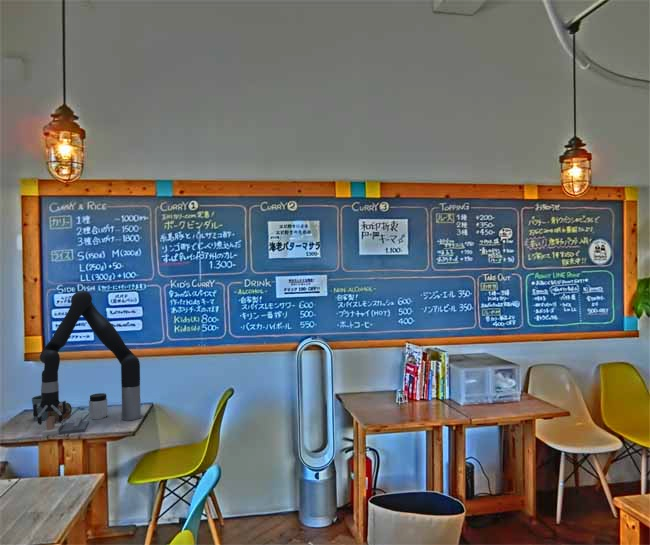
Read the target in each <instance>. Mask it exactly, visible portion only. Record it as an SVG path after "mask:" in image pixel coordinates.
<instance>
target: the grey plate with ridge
mask: <svg viewBox="0 0 650 545" xmlns="http://www.w3.org/2000/svg"><path fill="white" fill-rule="evenodd" d="M89 422H90V421H89V420H83V417H82V416H81V417H77V418H76V420H75V422H73V421H72V422H65V423H63V427H62V428H61V430H60V431H59V434H58V435H65V434H66V435H67V434H68V435H69V434H75V433H77V434H78V433H85V432H86V429H87V427H88V426H89Z"/></svg>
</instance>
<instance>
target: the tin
mask: <svg viewBox="0 0 650 545" xmlns="http://www.w3.org/2000/svg"><path fill="white" fill-rule="evenodd" d="M58 407H59V408H60V410H61V411H63V406H61V404H59V406H58ZM66 407H67V412H66V413H65V414H63V419H64V420H66V418H67V419H68V418H70V416H71V414H72V411H73V409H72V405H71V403H69V402H66ZM49 416H55V424H57V423H59V414H58V413H57V412H56V411H55V410H54V411H49V412H48V417H49ZM56 422H57V423H56Z"/></svg>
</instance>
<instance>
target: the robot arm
mask: <svg viewBox="0 0 650 545" xmlns="http://www.w3.org/2000/svg"><path fill="white" fill-rule="evenodd" d="M92 301H93V297H92V295H91V293H90V292H88V291H86V290H79V291H76V292H75V293H74V294H73V295H72V296H71V298H70V306H69V309H68V311H67V313H66V314H65V316H64V318H63V319H62V321H61V322H60V324H59V325H58V327H57V328H56V330H55V331H54V333H53V335H52V337H51V339H50V341H48V342H47V344H46V345H45V346H44V347H43V349H42V351H41V352H40V353H39V354H40V355H39V360H40V362H41V363H43V364H44V368H43V369H44V370H42V371H41V386H40V388H41V389H40V393H41V394H40V395H41V403H35V404H34V410H33V409H32V411H33V412H32V413H33V414H32V416H33V417H34V416H36V417H38V421H37V424H38V425H39V426H42V424H43V421H42V416H41V415H42V414H43V412H44V411H46V412H49V411H54V410H55V411H56V412H57V413H58V414H59V422H58V424H62V422H63V421H64V420H63V414H65V413H66V412H67V407H66V403H67V401H66V400H63V401H60V397H59V396H60V395H59V394H60V389H59V387H60V385H59V368H60V364H61V361H60V360H61V358H60V357H61V356H60V353H59V351H60V350H61V349H62V348H64V347H65V346H66V344H67V342H68V341H69V339H70V337H71V335H72V333H73V331H74V329H75V327H76V325H77V323H78V321H79V320H80V318H81V316H82V318H84V320H85V321H86V323H87V324H88V326H89V327H90V329H91V330H92V331H93V333H94V335H95V336H96V338H98V340H99V341H100V342H101V343H102V345H104V346H105V347H106V348H107V350H109V351H110V352H111V353H112V354H113V355H114V356H115V357H116V359H117V361H118V362H119V364H120V375H121V376H120V378H121V380H120V381H121V420H122V419H123V421H134V420H138V419H141V416H142V413H141V410H142V409H141V406H142V405H141V402H142V401H141V362H140V359H139V358H138V357H137V355H135V354H134V353H133V351H131V349H130V348H128V346H127V345H126V343H125V342H124V340H123V339H122V337H121V335H120V334H119V332H118V330H117V329H116V328H115V327H114V325H113V324H112V323H111V322H110V320H108V318H106V317H105V316H104V315H102V314H101V312H99V310H98V309H97V308H96V307H95V305H94V303H93V302H92ZM59 404H61V406H63V411H61V410H60V408H59V407H58V406H59ZM39 406H41V407H42V411H41V412H40V413H39V414H38V413H37V408H38V407H39Z"/></svg>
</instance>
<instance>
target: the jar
mask: <svg viewBox="0 0 650 545" xmlns="http://www.w3.org/2000/svg"><path fill="white" fill-rule="evenodd" d="M88 409H89V410H88V415H89V419H90V420H93V419H94V420H101V419H100V418H102V419H104V417H105V418H106V416H107V417H108V398H107V393H105V392H103V393H101V392H99V393H94V394H91V395H89V401H88Z"/></svg>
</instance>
